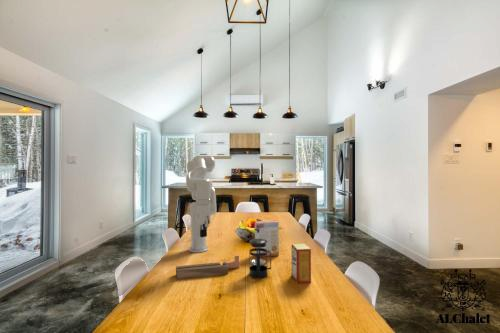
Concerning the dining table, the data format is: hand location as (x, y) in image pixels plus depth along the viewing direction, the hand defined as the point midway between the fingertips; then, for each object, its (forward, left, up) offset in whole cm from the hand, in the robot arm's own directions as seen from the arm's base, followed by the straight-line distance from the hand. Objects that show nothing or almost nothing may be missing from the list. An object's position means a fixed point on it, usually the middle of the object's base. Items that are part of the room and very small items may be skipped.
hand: (203, 236), depth 139 cm
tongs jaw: (+5, -3, -17) cm, 18 cm away
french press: (+15, +26, -17) cm, 35 cm away
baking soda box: (+25, +44, -17) cm, 54 cm away
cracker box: (-12, +39, -17) cm, 45 cm away
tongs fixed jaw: (+8, -1, -17) cm, 19 cm away
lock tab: (+3, +15, -17) cm, 23 cm away
